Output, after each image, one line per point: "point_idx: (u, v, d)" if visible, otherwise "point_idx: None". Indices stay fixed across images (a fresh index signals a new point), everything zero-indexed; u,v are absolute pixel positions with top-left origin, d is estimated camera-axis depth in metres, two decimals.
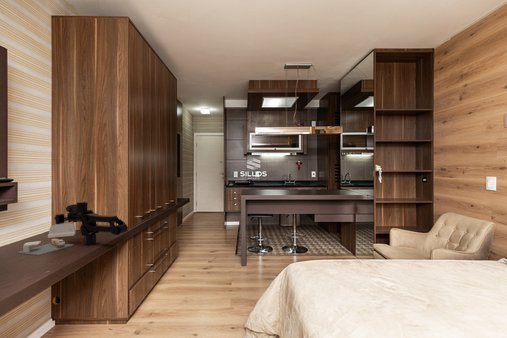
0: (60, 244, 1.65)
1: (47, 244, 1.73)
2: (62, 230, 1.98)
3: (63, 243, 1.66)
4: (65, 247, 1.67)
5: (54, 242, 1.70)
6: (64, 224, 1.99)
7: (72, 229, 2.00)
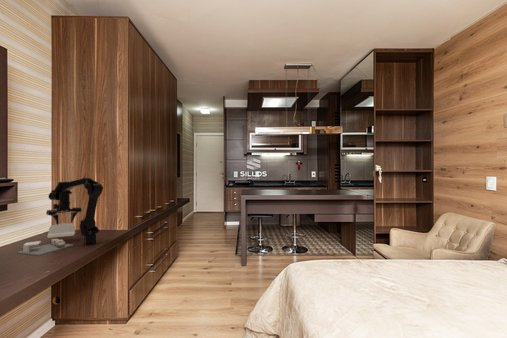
0: (60, 244, 1.65)
1: (47, 244, 1.73)
2: (62, 230, 1.98)
3: (63, 243, 1.66)
4: (65, 247, 1.67)
5: (54, 242, 1.70)
6: (64, 224, 1.99)
7: (72, 229, 2.00)
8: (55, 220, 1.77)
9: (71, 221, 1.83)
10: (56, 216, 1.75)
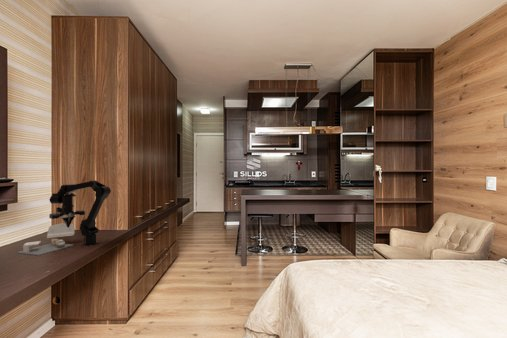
0: (60, 244, 1.65)
1: (47, 244, 1.73)
2: (61, 230, 1.98)
3: (63, 243, 1.66)
4: (65, 247, 1.67)
5: (54, 242, 1.70)
6: (63, 224, 1.99)
7: (71, 229, 2.00)
8: (65, 223, 1.76)
9: (68, 225, 1.76)
10: (66, 219, 1.74)
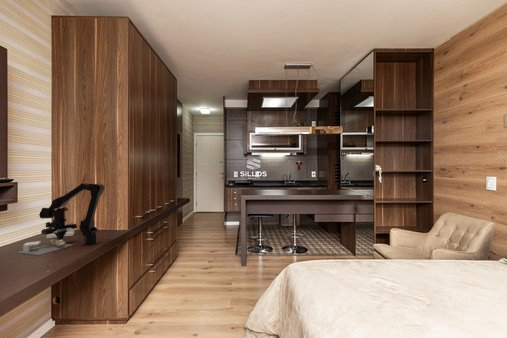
0: (60, 244, 1.65)
1: (47, 244, 1.73)
2: None
3: (63, 243, 1.67)
4: (65, 247, 1.67)
5: (53, 242, 1.70)
6: None
7: (71, 229, 2.00)
8: (58, 237, 1.73)
9: None
10: (60, 233, 1.71)
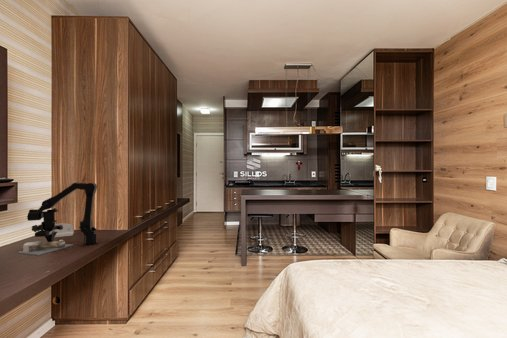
0: (63, 244, 1.66)
1: None
2: (60, 230, 1.97)
3: (64, 242, 1.68)
4: (65, 247, 1.67)
5: (48, 244, 1.65)
6: (62, 224, 1.99)
7: (70, 229, 2.00)
8: (48, 240, 1.68)
9: None
10: (53, 235, 1.68)
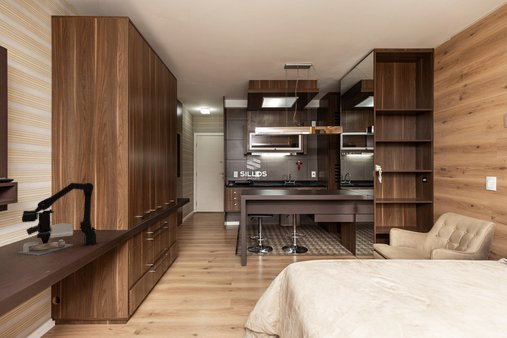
0: (64, 243, 1.67)
1: None
2: (60, 230, 1.97)
3: None
4: (65, 247, 1.67)
5: (47, 246, 1.62)
6: (61, 224, 1.99)
7: (70, 229, 2.01)
8: (44, 241, 1.63)
9: None
10: None
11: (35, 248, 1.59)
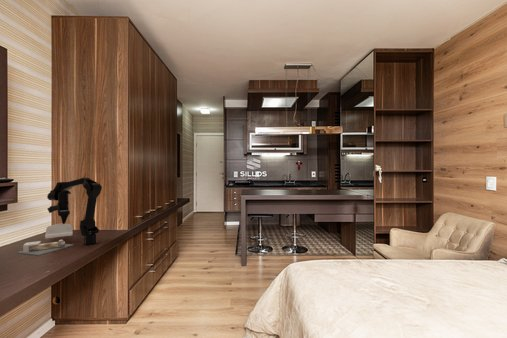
0: (64, 243, 1.67)
1: None
2: (59, 230, 1.97)
3: None
4: (65, 247, 1.67)
5: (47, 246, 1.62)
6: (61, 224, 1.99)
7: (70, 229, 2.01)
8: (63, 219, 1.80)
9: None
10: (68, 214, 1.81)
11: (35, 248, 1.59)
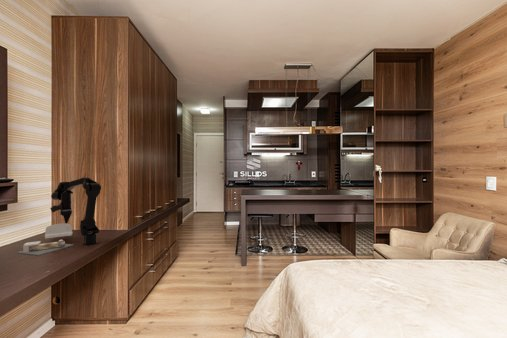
0: (64, 243, 1.67)
1: None
2: (59, 230, 1.97)
3: None
4: (65, 247, 1.67)
5: (47, 246, 1.62)
6: (61, 224, 1.99)
7: (69, 229, 2.01)
8: (65, 219, 1.82)
9: (67, 221, 1.83)
10: None
11: (35, 248, 1.59)
